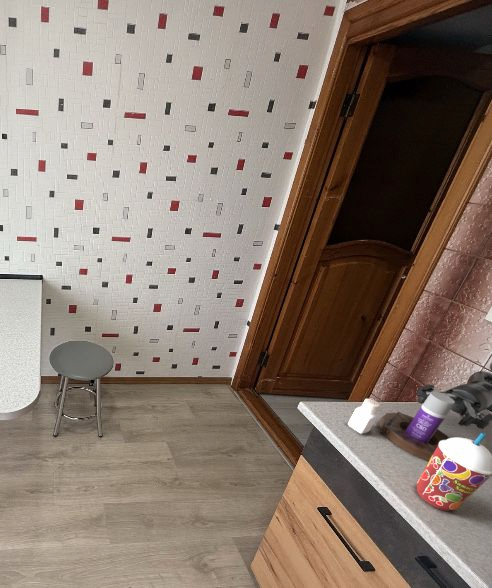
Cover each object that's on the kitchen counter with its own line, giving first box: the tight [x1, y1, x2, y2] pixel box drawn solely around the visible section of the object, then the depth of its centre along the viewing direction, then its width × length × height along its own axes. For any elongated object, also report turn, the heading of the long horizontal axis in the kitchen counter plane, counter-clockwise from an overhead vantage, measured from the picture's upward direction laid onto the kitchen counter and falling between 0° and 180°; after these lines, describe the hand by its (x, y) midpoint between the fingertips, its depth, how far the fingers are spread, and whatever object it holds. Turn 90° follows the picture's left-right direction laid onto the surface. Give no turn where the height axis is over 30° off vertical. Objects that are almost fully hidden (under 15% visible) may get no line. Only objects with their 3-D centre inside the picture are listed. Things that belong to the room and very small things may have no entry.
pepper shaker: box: [347, 398, 381, 435], centre depth 92 cm, size 4×4×10 cm
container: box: [404, 391, 455, 444], centre depth 89 cm, size 5×5×15 cm
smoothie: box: [416, 432, 492, 512], centre depth 71 cm, size 8×8×20 cm
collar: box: [378, 411, 450, 462], centre depth 91 cm, size 15×15×2 cm
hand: (440, 410), depth 90 cm, fingers open, 8 cm apart
